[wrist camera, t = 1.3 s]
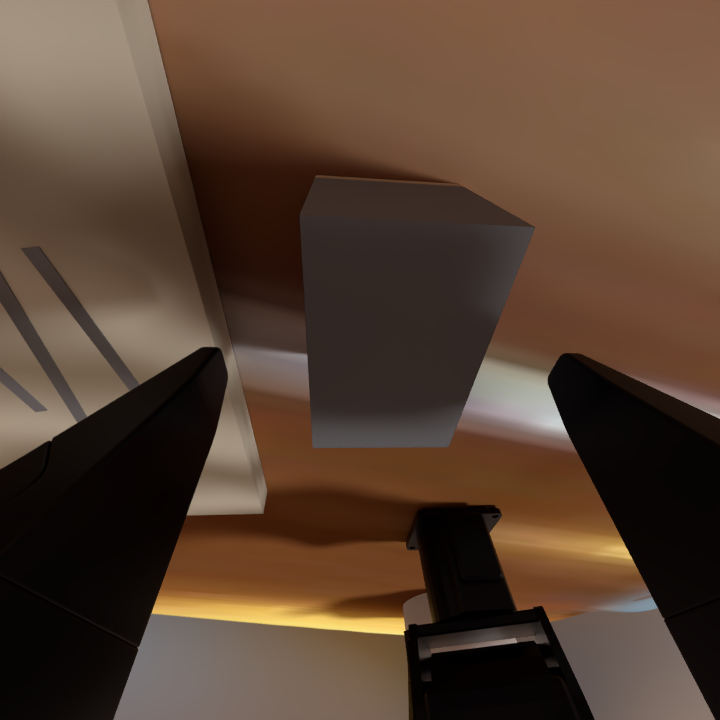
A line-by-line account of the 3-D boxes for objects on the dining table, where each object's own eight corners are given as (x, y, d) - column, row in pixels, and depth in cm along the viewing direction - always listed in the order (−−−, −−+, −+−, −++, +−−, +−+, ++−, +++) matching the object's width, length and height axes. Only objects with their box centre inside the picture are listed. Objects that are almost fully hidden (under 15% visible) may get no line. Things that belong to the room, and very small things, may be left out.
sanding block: (418, 355, 14) (448, 447, 10) (320, 354, 14) (313, 448, 10) (457, 183, 10) (535, 227, 6) (316, 174, 9) (299, 214, 6)
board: (267, 490, 20) (262, 514, 19) (76, 494, 20) (58, 519, 18) (143, -16, 7) (102, -43, 6) (-506, -84, 6) (-724, -136, 5)
